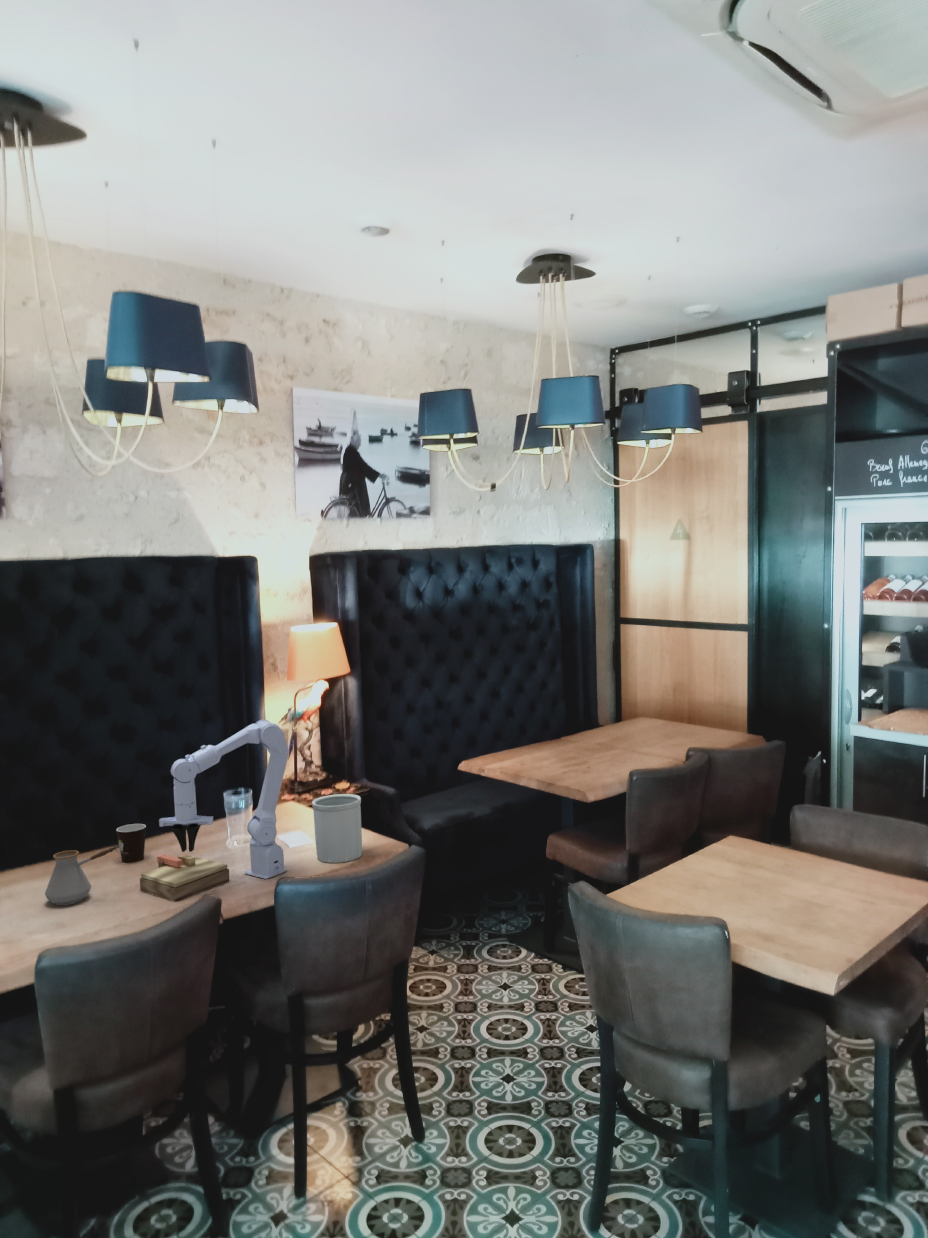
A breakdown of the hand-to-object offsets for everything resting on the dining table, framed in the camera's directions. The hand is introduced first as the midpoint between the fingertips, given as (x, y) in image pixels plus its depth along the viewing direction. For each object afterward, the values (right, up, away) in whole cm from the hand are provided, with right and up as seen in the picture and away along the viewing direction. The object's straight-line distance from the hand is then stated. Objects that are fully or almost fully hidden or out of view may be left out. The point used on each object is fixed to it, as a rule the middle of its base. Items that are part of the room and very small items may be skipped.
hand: (187, 850), depth 242 cm
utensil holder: (+39, -8, +23) cm, 46 cm away
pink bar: (-7, -5, +5) cm, 10 cm away
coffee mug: (-26, -10, +29) cm, 40 cm away
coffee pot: (-26, -12, -6) cm, 29 cm away
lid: (-1, -7, +2) cm, 7 cm away
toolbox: (-1, -10, +2) cm, 11 cm away
